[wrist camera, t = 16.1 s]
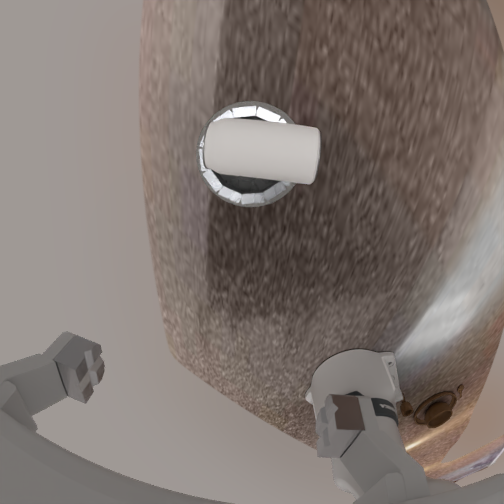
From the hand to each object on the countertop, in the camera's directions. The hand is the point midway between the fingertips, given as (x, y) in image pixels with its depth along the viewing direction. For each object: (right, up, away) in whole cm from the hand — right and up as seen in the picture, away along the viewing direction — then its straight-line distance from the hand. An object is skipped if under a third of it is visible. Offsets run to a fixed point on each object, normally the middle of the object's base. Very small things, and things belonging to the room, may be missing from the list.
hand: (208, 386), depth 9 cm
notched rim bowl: (+1, +17, +28) cm, 33 cm away
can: (+9, +15, +22) cm, 28 cm away
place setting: (+44, -30, +44) cm, 69 cm away
